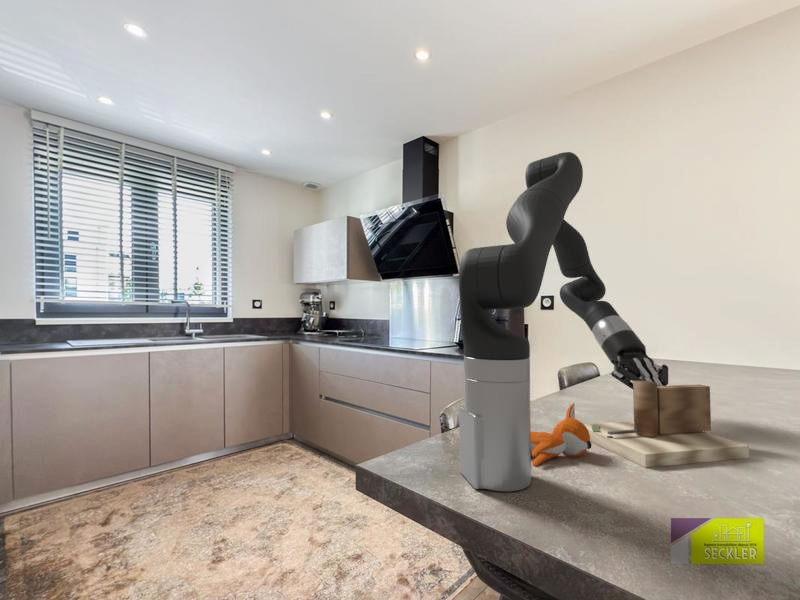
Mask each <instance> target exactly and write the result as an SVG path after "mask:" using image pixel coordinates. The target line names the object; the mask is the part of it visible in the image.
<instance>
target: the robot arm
mask: <svg viewBox="0 0 800 600" xmlns="http://www.w3.org/2000/svg"><path fill="white" fill-rule="evenodd" d="M583 171H584V170H583V164H582V162H581V159H580V158H579V156H577V154H575V153H573V152H570V151H566V152H559V153H557V154H554V155H550V156H547V157H543V158H540V159H538V160H535V161H532V162H530V163H529V164H528V165H527V166H526V169H525V185H526V189H525V190H524V191H523V192H522V193H521V194H520V195H519V196H518V197H517V198H516V200H515V202H513V204H512V206H511V208H510V209H509V211H508V213H507V216H506V221H505V225H506V230H507V233H508V235H509V238H510V239H511V241H512V242H513V243H509V244H500V245H491V246H489V245H488V246H482V247H474V248H469V249H468V250H466V251H465V252H464V253H463V256H462V258H461V260H460V263H459V269H458V293H459V295H458V296H459V309H460V330H461V331H460V332H461V339H462V343H463V376H464V377H463V395H464V396H463V406H462V405H461V406H460V407H459V409H458V412H459V413H458V414H459V417H458V418H459V419H458V420H459V423H458V424H459V425H458V427H459V428H458V429H459V431H458V434H459V441H458V443H459V449H458V450H459V454H458V455H459V457H458V458H459V472H460V474H461V475H462V476H463V477H464V478H465V479H466V480H467V481H468V482H469V484H470V485H471V486H472V487H473V488H474V489H475V490H479V489H482V490H484V489H485V490H489V491H490V490H491V491H497V492H514V491H515V492H516V491H521V490H524V489H525V488H528V487H529V486H530V485H531V483H532V458H531V457H532V453H531V432H532V431H531V424H532V423H531V347H530V345H531V344H530V341H529V339H528V338H527V337H526V336H524V335H523V334H519V333H517V332H514V331H513V330H509V329H508V328H505V327H504V326H502V325H501V324H500V323H498V322H497V321H496V320H495V318H494V316H493V311H492V310H520V309H521V310H522V309H524V308H528V307H531V305H533V303H535V301H536V299H537V298H538V295H539V293H540V290H541V287H542V283H543V279H544V276H545V270H546V267H547V263H548V259H549V254H550V252H551V249H552V246H553V249H554V252H555V256H556V260H557V262H558V266H559V270H560V272H561V274H562V276H564V277H565V278H568V279H574V280H572V281H569V282H567V283H565V284H563V285H562V286H561V287H560V289H559V298H560V300H561V302H562V303H563V304H564V305H565V307H566V308H568V309H569V310H570V311H571V312H573V313H575V315H577V316H578V317H579V318H580V319H581V320H582V321H584V323H585V324H586V325H587V327H588V328H589V330H590V331H591V333H592V335H593V336H594V339H595V340H596V342H597V344H598V345H599V346H600V348H601V349H602V352H604V354H605V356H606V357H607V358H608V360H609V361H610V363H611V364H612V365H613V366H615V368H614V369H613V371H612V372H610V375H611V376H612V377H613V378H615V379H616V380H618V382H619V381H620V382H621V383H622V384H624V385H625V386H627V387H628V388H629V389H632V390H633V381H650V382H655V383H657V386H669V385H668V384H669V366H668V365H666V364H662V365H659V364H657V363H655V361H654V359H653V358H651V357H649V355H647V351H646V349H647V348H646V345H645V344H644V343H643V341H642V340H641V339H640V338H639V336H638V335H637V334H636V332H635V331H634V330H633V329H632V327H631V326H630V325H629V324H628V322H627V321H625V320H624V319H623V318H622V317H621V316H620V315H619V313H618V312H617V310H616V308H614V307H613V305H612V304H611V303H610V302H608V301H605V300H602V299H603V298H604V297H605V295H606V290H607V289H606V288H607V287H606V286H605V283H604V281H603V280H602V279H601V278H600V276H599V275H598V273H597V272H596V270H595V269H594V266H593V263H592V262H591V259H590V255H589V251H588V247H587V243H586V240H585V239H584V237H583V235H582V234H581V233H580V232H579V230H577V228H575V227H574V226H573V225H572V224H570V223H569V222H568V221H566V220H565V215H566V213H567V211H568V208H569V207H570V204H571V203H572V201H573V200H574V199H575V197H576V196H577V195H578V194H579V191H580V189H581V187H582V183H583V177H584V172H583Z"/></svg>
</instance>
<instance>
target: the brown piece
mask: <svg viewBox="0 0 800 600" xmlns="http://www.w3.org/2000/svg"><path fill="white" fill-rule="evenodd" d="M632 383H633V389H632V390H633V392H632V394H633V396H632V397H633V421H634V430H620V431H608V434H610V435H613V434H627V433H636V434H639V435H643V436H652V437H654V436H658V434H672V433H686V432H700V431H703V432H711V431H712V417H711V415H712V413H711V386H709V385H703V384H682V385H680V384H679V385H667V386H657V383H655V382H650V381H632Z"/></svg>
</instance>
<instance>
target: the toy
mask: <svg viewBox="0 0 800 600" xmlns="http://www.w3.org/2000/svg"><path fill="white" fill-rule="evenodd" d="M575 410H576V409H575V403H572V404H571V405H570V406H569V407H568V408H567V410H566V415H565V418H564V419H563V420H561V421H560V422H558V423H557V424H556V425H555V426H554V428H553V430H552V433H550V432H545V431H531V457H533V458H534V459H533V460H532V466H533V467H536V468H537V467H538V466H540V465H541V464H543V463H544V462H546V461H547V460H550V459H552V458H555V457H558V456H560V455H561V454H562V453H563V455H565V457H569V458H570V457H572V458H579V457H580V456H581V455H583V454H584V453H585V452H586V451H587V450H590V449H591V448H592V442H590V434H589V431H588V429H587V428H586V426H585V425H584V424H585V423H582V422H581V421H580V420H578V419H576V413H575Z"/></svg>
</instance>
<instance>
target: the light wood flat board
mask: <svg viewBox="0 0 800 600" xmlns="http://www.w3.org/2000/svg"><path fill="white" fill-rule="evenodd" d="M583 424H584V425H585V426H586V428H587V429H588V431H589V434H590V442H591V444H595V445H597V446H599V447H602V448H603V449H605V450H607V451H610V452H612V453H614V454H616V455H618V456H620V457H622V458H624V459H627V460H629V461H631V462H633V463H635V464H636V465H639V466H641V467H643V468H655V467H665V466H667V467H668V466H677V465H688V464H698V463H710V462H720V461H721V462H722V461H731V460H743V459H749V458H750V446H749V445H747V444H744V443H741V442H738V441H735V440H732V439H728V438H725V437H722V436H718V435H715V434H711V433H710V432H707V431H700V432H686V433H672V434H658V436H654V437H652V436H643V435H639V434H636V433H627V434H613V435H610V434H608V431H620V430H634V420H631V421H619V422H618V421H617V422H616V421H615V422H614V421H613V422H601V423H600V422H598V423H583Z"/></svg>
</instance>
